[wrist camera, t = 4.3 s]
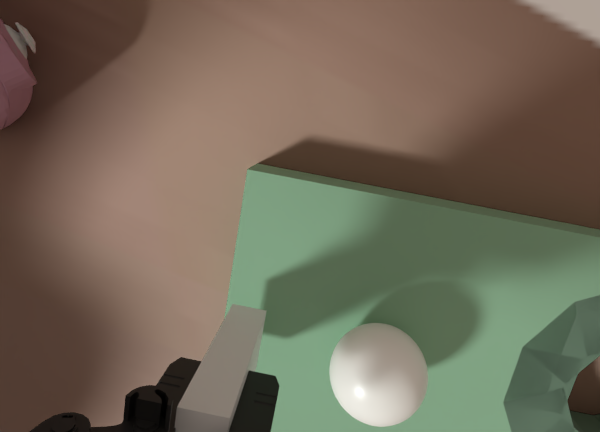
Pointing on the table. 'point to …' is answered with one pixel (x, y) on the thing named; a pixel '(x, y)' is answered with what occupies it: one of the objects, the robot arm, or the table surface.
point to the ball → (378, 374)
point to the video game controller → (14, 73)
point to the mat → (418, 301)
